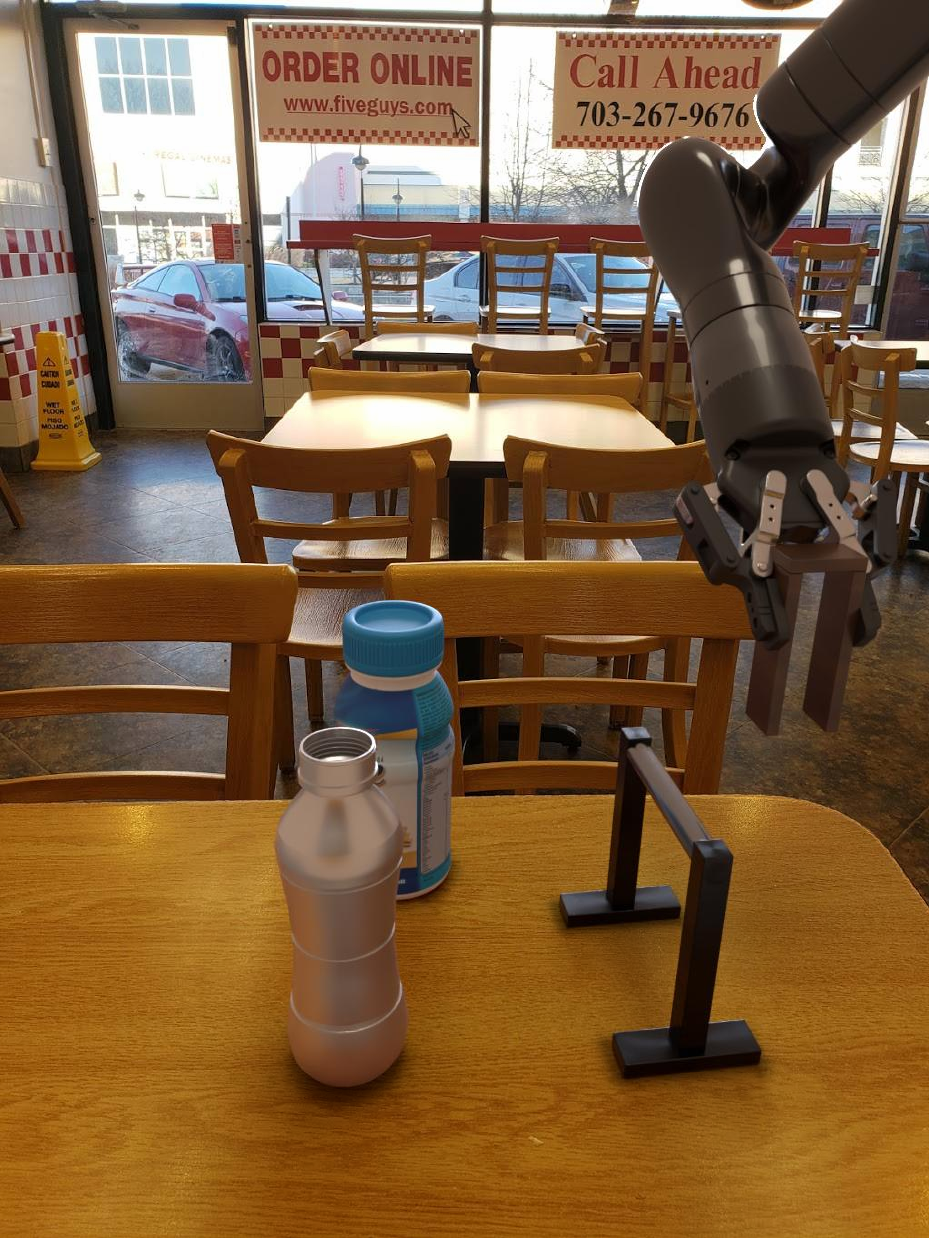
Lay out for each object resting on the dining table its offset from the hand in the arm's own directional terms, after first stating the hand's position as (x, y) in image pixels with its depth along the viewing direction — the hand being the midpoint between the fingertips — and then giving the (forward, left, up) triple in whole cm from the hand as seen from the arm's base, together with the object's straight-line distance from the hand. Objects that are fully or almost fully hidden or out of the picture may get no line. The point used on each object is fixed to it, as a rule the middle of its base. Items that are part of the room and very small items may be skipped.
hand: (821, 642), depth 54 cm
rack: (+9, +1, -22) cm, 24 cm away
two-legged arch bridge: (0, -2, -6) cm, 6 cm away
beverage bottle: (+24, -12, -22) cm, 34 cm away
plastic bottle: (+28, +5, -22) cm, 36 cm away
